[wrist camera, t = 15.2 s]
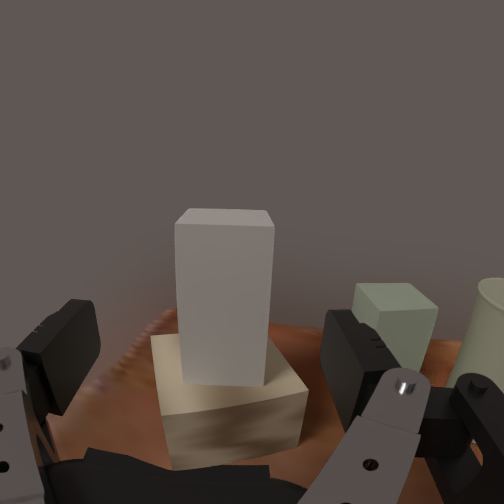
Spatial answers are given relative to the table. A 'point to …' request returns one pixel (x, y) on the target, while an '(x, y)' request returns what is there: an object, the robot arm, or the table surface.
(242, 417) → the base block
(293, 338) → the table surface
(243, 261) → the grey block
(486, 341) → the can
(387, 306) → the sage block
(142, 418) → the table surface
